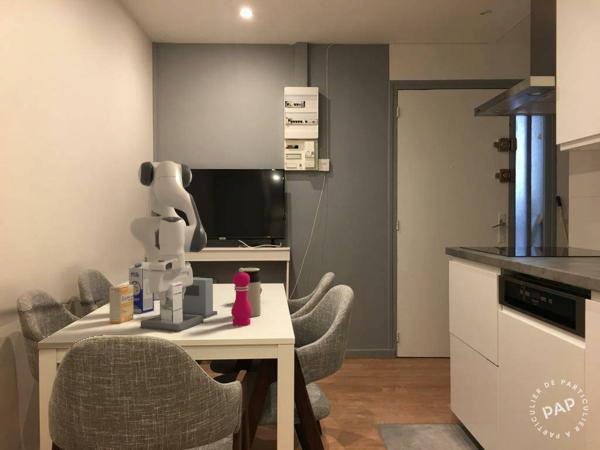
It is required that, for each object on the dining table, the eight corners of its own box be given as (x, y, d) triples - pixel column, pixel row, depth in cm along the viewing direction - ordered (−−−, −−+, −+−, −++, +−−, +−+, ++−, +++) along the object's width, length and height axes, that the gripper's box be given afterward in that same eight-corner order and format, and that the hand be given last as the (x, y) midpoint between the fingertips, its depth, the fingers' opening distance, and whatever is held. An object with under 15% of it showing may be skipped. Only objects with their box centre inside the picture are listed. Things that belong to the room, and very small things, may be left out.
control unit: (166, 315, 170) (166, 278, 170) (179, 311, 178) (179, 276, 178) (205, 318, 164) (205, 280, 164) (217, 314, 171) (217, 278, 171)
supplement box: (121, 323, 156) (120, 287, 156) (109, 323, 157) (108, 287, 157) (134, 318, 164) (133, 284, 164) (122, 318, 165) (122, 283, 165)
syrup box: (183, 322, 155) (182, 281, 155) (173, 325, 149) (172, 283, 149) (169, 320, 157) (169, 280, 156) (159, 324, 151) (158, 282, 151)
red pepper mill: (232, 321, 158) (231, 266, 158) (252, 321, 159) (251, 266, 158) (230, 326, 151) (230, 269, 151) (251, 326, 151) (251, 268, 151)
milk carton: (154, 310, 179) (153, 262, 179) (142, 313, 173) (141, 263, 173) (141, 309, 182) (140, 261, 182) (128, 312, 176) (128, 262, 176)
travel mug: (252, 318, 164) (251, 270, 163) (235, 316, 168) (235, 269, 168) (264, 314, 170) (264, 268, 170) (248, 312, 175) (248, 267, 174)
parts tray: (140, 327, 150) (140, 320, 150) (167, 319, 163) (167, 312, 163) (179, 332, 144) (179, 324, 144) (203, 322, 157) (203, 315, 157)
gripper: (182, 260, 164) (183, 296, 164) (145, 265, 145) (145, 306, 145) (197, 260, 162) (197, 297, 162) (160, 266, 143) (160, 308, 143)
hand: (172, 302), depth 153 cm, fingers open, 8 cm apart
